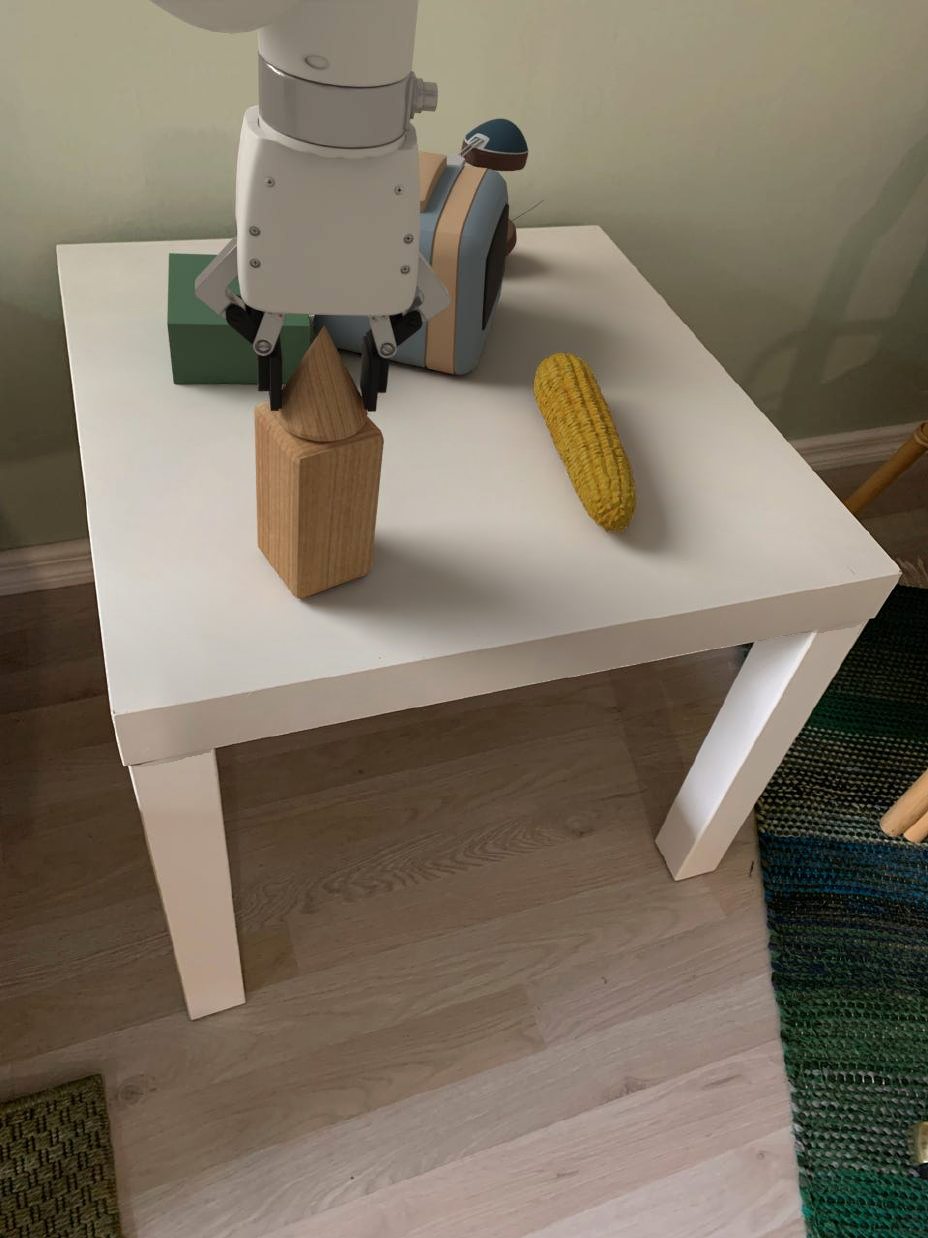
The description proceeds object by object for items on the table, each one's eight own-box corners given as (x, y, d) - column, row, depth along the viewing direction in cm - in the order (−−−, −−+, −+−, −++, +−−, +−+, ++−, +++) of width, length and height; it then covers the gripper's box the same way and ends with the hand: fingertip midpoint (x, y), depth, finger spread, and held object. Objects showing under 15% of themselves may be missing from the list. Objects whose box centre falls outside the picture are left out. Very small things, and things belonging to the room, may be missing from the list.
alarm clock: (473, 387, 91) (499, 226, 79) (306, 350, 91) (309, 184, 79) (500, 303, 102) (527, 150, 90) (352, 270, 102) (360, 114, 90)
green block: (173, 383, 85) (167, 323, 80) (174, 311, 92) (168, 252, 88) (309, 384, 87) (310, 325, 83) (299, 313, 95) (300, 256, 91)
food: (521, 396, 91) (532, 341, 86) (576, 395, 92) (590, 341, 88) (587, 550, 77) (605, 494, 73) (651, 546, 79) (672, 491, 74)
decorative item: (374, 575, 72) (397, 342, 57) (295, 604, 69) (299, 366, 54) (331, 521, 75) (343, 289, 61) (254, 547, 72) (247, 308, 58)
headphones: (518, 213, 114) (396, 289, 103) (535, 80, 102) (398, 150, 91) (560, 234, 112) (439, 314, 101) (583, 101, 100) (448, 175, 89)
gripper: (482, 85, 53) (441, 367, 66) (159, 56, 49) (184, 363, 62) (512, 142, 48) (461, 435, 61) (155, 115, 44) (183, 434, 57)
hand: (321, 396), depth 61 cm, fingers closed on decorative item, 5 cm apart
